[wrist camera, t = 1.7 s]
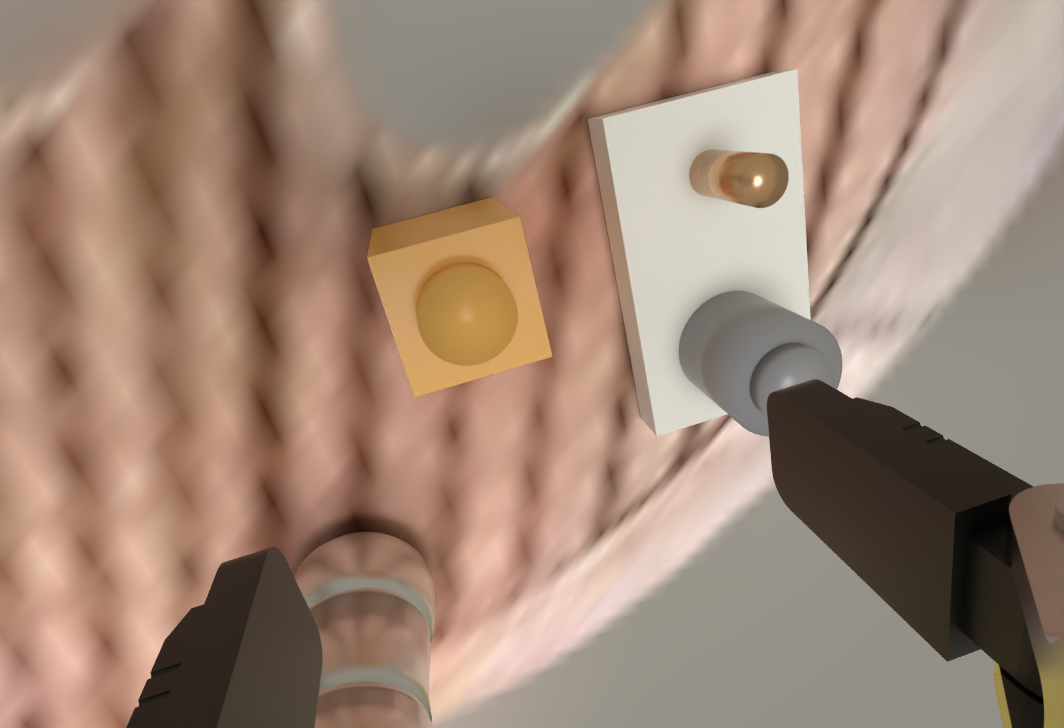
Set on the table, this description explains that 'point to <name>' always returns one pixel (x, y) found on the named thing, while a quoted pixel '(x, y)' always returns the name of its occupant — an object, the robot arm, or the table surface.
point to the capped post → (754, 354)
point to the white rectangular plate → (696, 225)
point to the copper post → (740, 177)
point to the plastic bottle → (371, 631)
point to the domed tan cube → (459, 294)
